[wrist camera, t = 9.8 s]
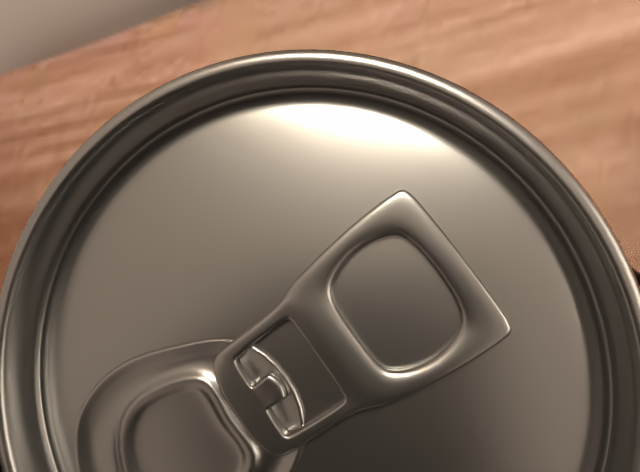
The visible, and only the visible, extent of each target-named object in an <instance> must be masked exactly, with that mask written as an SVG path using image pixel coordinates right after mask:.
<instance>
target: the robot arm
mask: <svg viewBox="0 0 640 472" xmlns="http://www.w3.org/2000/svg"><path fill="white" fill-rule="evenodd" d="M631 268H632V267H631ZM632 270H633V272H634V274H635V277H636V279H637V282H638V285H639V287H640V273H639V272H637V271H636V270H635V269H634V268H632ZM0 472H3V471H2V467H1V463H0Z"/></svg>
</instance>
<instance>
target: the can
mask: <svg viewBox="0 0 640 472" xmlns="http://www.w3.org/2000/svg"><path fill="white" fill-rule="evenodd" d="M0 463H1V467H2V471H3V472H640V287H639V285H638V282H637V279H636V277H635V274H634V272H633V270H632V268H631V265H630V263H629V261H628V259H627V257H626V255H625V253H624V251H623V249H622V247H621V245H620V243H619V241H618V239H617V237H616V236H615V234H614V232H613V230H612V228H611V227H610V225H609V224H608V222H607V220H606V219H605V217H604V216H603V214H602V212H601V211H600V209H599V208H598V207H597V205H596V204H595V202H594V201H593V199H592V198H591V197H590V195H589V194H588V193H587V191H586V190H585V189H584V188H583V186H582V185H581V184H580V182H579V181H578V180H577V179H576V178H575V176H574V175H573V174H572V173H571V172H570V171H569V170H568V168H567V167H566V166H565V165H564V164H563V163H562V162H561V161H560V160H559V159H558V158H557V157H556V156H555V155H554V154H553V153H552V152H551V151H550V150H549V149H548V148H547V147H546V146H545V145H544V144H543V143H542V142H541V141H540V140H539V139H537V138H536V137H535V136H534V135H533V134H532V133H530V132H529V131H528V130H527V129H526V128H524V127H523V126H522V125H521V124H519V123H518V122H517V121H515V120H514V119H513V118H511V117H510V116H509V115H507V114H506V113H504V112H503V111H501V110H500V109H499V108H497V107H496V106H494V105H492V104H491V103H489V102H488V101H486V100H484V99H483V98H481V97H479V96H478V95H476V94H474V93H472V92H470V91H469V90H467V89H465V88H463V87H461V86H459V85H457V84H455V83H453V82H451V81H449V80H446V79H444V78H442V77H439V76H437V75H435V74H432V73H430V72H427V71H424V70H421V69H419V68H416V67H413V66H410V65H406V64H403V63H400V62H396V61H392V60H388V59H384V58H380V57H375V56H370V55H365V54H358V53H352V52H343V51H333V50H284V51H274V52H266V53H259V54H253V55H248V56H243V57H238V58H234V59H230V60H226V61H222V62H219V63H216V64H212V65H209V66H206V67H203V68H201V69H198V70H195V71H192V72H190V73H188V74H185V75H183V76H180V77H178V78H176V79H174V80H172V81H170V82H168V83H166V84H164V85H162V86H160V87H158V88H156V89H154V90H153V91H151V92H149V93H147V94H146V95H144V96H143V97H141V98H139V99H138V100H136V101H135V102H133V103H132V104H130V105H129V106H127V107H126V108H125V109H123V110H122V111H120V112H119V113H118V114H116V115H115V116H114V117H113V118H111V119H110V120H109V121H108V122H107V123H105V124H104V125H103V126H102V127H101V128H100V129H98V130H97V131H96V132H95V133H94V134H93V135H92V136H91V137H90V138H89V139H88V140H87V141H86V142H85V143H84V144H83V145H82V146H81V147H80V148H79V149H78V150H77V151H76V152H75V153H74V155H73V156H72V157H71V158H70V159H69V160H68V162H67V163H66V164H65V165H64V166H63V168H62V169H61V170H60V171H59V173H58V174H57V175H56V177H55V178H54V179H53V181H52V182H51V184H50V185H49V187H48V188H47V190H46V191H45V193H44V194H43V196H42V197H41V199H40V201H39V202H38V204H37V206H36V207H35V209H34V211H33V213H32V214H31V216H30V218H29V220H28V222H27V224H26V226H25V228H24V230H23V232H22V234H21V237H20V239H19V241H18V243H17V246H16V248H15V251H14V253H13V256H12V259H11V261H10V264H9V267H8V270H7V273H6V277H5V280H4V283H3V287H2V291H1V295H0Z"/></svg>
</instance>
